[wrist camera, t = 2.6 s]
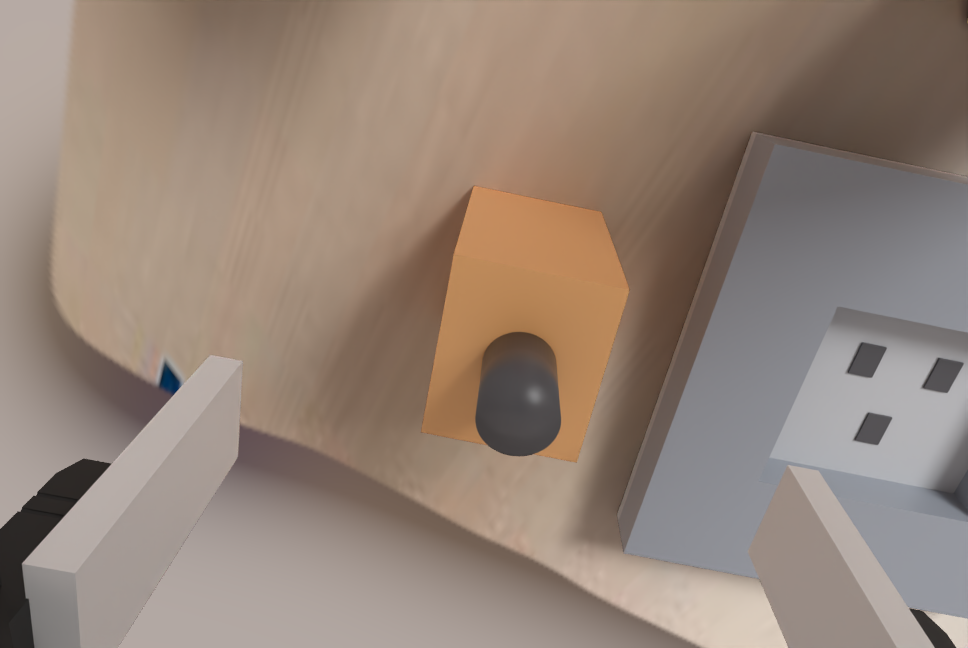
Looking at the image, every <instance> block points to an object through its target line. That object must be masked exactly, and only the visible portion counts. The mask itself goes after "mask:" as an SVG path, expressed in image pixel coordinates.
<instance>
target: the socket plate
mask: <svg viewBox="0 0 968 648" xmlns="http://www.w3.org/2000/svg"><path fill="white" fill-rule="evenodd" d="M787 465H791V466H797V467H802V468H807V469H812V470H818V471H819V472H820V474H821V475H822V477H823V478H824V480H825V481H826V483H827V484H828V486H829V487H830V489H831V491H832V492H833V494H834V495H835V497H836V498H837V500H838V501H839V503H840V504H841V506H842V507H843V509H844V510H845V512H846V513H847V515H848V516H849V518H850V519H851V521H852V523H853V524H854V526H855V527H856V529H857V530H858V532H859V533H860V535H861V536H862V538H863V539H864V541H865V542H866V544H867V545H868V547H869V548H870V550H871V551H872V553H873V555H874V556H875V558H876V559H877V561H878V562H879V564H880V565H881V567H882V568H883V570H884V571H885V573H886V574H887V576H888V577H889V579H890V580H891V582H892V583H893V585H894V587H895V588H896V590H897V591H898V593H899V594H900V596H901V597H902V599H903V600H904V602H905V603H906V605H907V606H908V607H910V608H915V609H920V610H925V611H931V612H936V613H941V614H946V615H952V616H957V617H962V618H968V177H967V176H962V175H957V174H952V173H948V172H943V171H938V170H933V169H929V168H924V167H919V166H914V165H910V164H905V163H900V162H895V161H891V160H886V159H881V158H876V157H872V156H867V155H862V154H857V153H853V152H848V151H843V150H838V149H834V148H829V147H824V146H819V145H815V144H810V143H805V142H800V141H796V140H791V139H786V138H781V137H777V136H772V135H767V134H762V133H757V132H753V131H752V134H751V136H750V139H749V142H748V145H747V148H746V151H745V153H744V156H743V159H742V162H741V165H740V168H739V170H738V173H737V176H736V179H735V182H734V185H733V187H732V190H731V193H730V196H729V199H728V202H727V204H726V207H725V210H724V213H723V216H722V219H721V221H720V224H719V227H718V230H717V233H716V236H715V238H714V241H713V244H712V247H711V250H710V253H709V255H708V258H707V261H706V264H705V267H704V269H703V272H702V275H701V278H700V281H699V284H698V286H697V289H696V292H695V295H694V298H693V301H692V303H691V306H690V309H689V312H688V315H687V318H686V320H685V323H684V326H683V329H682V332H681V335H680V337H679V340H678V343H677V346H676V349H675V352H674V354H673V357H672V360H671V363H670V366H669V369H668V371H667V374H666V377H665V380H664V383H663V386H662V388H661V391H660V394H659V397H658V400H657V403H656V405H655V408H654V411H653V414H652V417H651V420H650V422H649V425H648V428H647V431H646V434H645V437H644V439H643V442H642V445H641V448H640V451H639V454H638V456H637V459H636V462H635V465H634V468H633V471H632V473H631V476H630V479H629V482H628V485H627V488H626V490H625V493H624V496H623V499H622V502H621V505H620V507H619V510H618V513H617V519H618V524H619V530H620V536H621V541H622V547H623V552H624V553H625V554H630V555H636V556H641V557H646V558H652V559H657V560H662V561H667V562H673V563H678V564H683V565H688V566H694V567H699V568H704V569H709V570H715V571H720V572H725V573H731V574H736V575H741V576H746V577H752V578H757V579H759V577H758V575H757V573H756V570H755V568H754V565H753V563H752V561H751V558H750V556H749V554H748V550H749V547H750V545H751V543H752V541H753V539H754V537H755V534H756V532H757V530H758V528H759V526H760V524H761V521H762V519H763V517H764V515H765V513H766V511H767V509H768V506H769V504H770V502H771V500H772V498H773V496H774V493H775V491H776V489H777V487H778V485H779V483H780V480H781V478H782V476H783V474H784V472H785V470H786V467H787Z"/></svg>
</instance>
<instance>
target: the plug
mask: <svg viewBox="0 0 968 648" xmlns="http://www.w3.org/2000/svg"><path fill="white" fill-rule="evenodd" d="M629 291H630V289H629V286H628V284H627V281H626V278H625V275H624V273H623V270H622V267H621V264H620V262H619V259H618V256H617V253H616V251H615V248H614V245H613V242H612V240H611V237H610V234H609V231H608V229H607V226H606V223H605V220H604V218H603V215H602V212H599V211H594V210H589V209H584V208H580V207H575V206H570V205H565V204H560V203H555V202H550V201H546V200H541V199H536V198H531V197H526V196H521V195H516V194H512V193H507V192H502V191H497V190H492V189H487V188H482V187H477V186H474V187H473V190H472V193H471V197H470V200H469V204H468V207H467V211H466V214H465V217H464V221H463V224H462V228H461V231H460V234H459V238H458V241H457V245H456V248H455V252H454V255H453V261H452V266H451V272H450V277H449V282H448V288H447V293H446V299H445V304H444V310H443V315H442V320H441V326H440V331H439V337H438V342H437V347H436V353H435V358H434V364H433V369H432V375H431V380H430V385H429V391H428V396H427V402H426V407H425V413H424V418H423V423H422V429H421V432H422V433H427V434H433V435H438V436H443V437H448V438H453V439H458V440H463V441H469V442H474V443H479V444H484V445H488V446H489V447H491V448H492V449H494V450H496V451H498V452H500V453H503V454H506V455H510V456H527V455H532V454H535V455H541V456H546V457H551V458H556V459H561V460H566V461H571V462H577V460H578V456H579V453H580V450H581V447H582V443H583V440H584V437H585V434H586V430H587V427H588V424H589V421H590V417H591V414H592V411H593V408H594V405H595V401H596V398H597V395H598V392H599V388H600V385H601V382H602V379H603V375H604V372H605V369H606V366H607V362H608V359H609V356H610V353H611V349H612V346H613V343H614V340H615V336H616V333H617V330H618V327H619V323H620V320H621V317H622V314H623V310H624V307H625V304H626V301H627V297H628V294H629Z"/></svg>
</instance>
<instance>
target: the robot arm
mask: <svg viewBox="0 0 968 648" xmlns="http://www.w3.org/2000/svg"><path fill="white" fill-rule="evenodd" d="M242 369H243V361H240V360H235V359H230V358H225V357H219V356H214V355H209V356H208V358H207V359H206V360H205V361H204V362H203V363H202V364H201V365H200V366H199V368H198V369H197V370H196V371H195V372H194V373H193V374H192V375H191V376H190V378H189V379H188V380H187V381H186V382H185V383H184V384H183V385H182V386H181V388H180V389H179V390H178V391H177V392H176V393H175V394H174V395H173V396H172V398H171V399H170V400H169V401H168V402H167V403H166V404H165V405H164V406H163V408H162V409H161V410H160V411H159V412H158V413H157V414H156V415H155V417H154V418H153V419H152V420H151V421H150V422H149V423H148V424H147V425H146V426H145V428H144V429H143V430H142V431H141V432H140V433H139V434H138V435H137V436H136V438H135V439H134V440H133V441H132V442H131V443H130V444H129V445H128V446H127V448H126V449H125V450H124V451H123V452H122V453H121V454H120V455H119V456H118V457H117V459H116V460H115V461H114V462H113V463H112V464H110V463H104V462H99V461H94V460H88V459H82V460H80V461H78V462H76V463H75V464H73V465H71V466H69V467H67V468H65V469H64V470H61V471H59V472H58V473H56V474H55V475H54V476H53V477H52V478H51V479H50V480H49V481H48V482H47V483H46V484H45V485H44V486H43V487H42V488H41V489H40V490H39V491H38V493H37V495H36V496H33V497H32V498H31V499H30V500H29V501H28V502H27V503H26V504H25V505H24V506H23V507H22V510H21V512H17V513H16V514H15V515H14V516H13V517H12V518H11V519H10V520H9V521H8V522H7V523H6V524H5V525H4V526H3V527H2V528H1V529H0V648H118V647H119V645H120V644H121V642H122V640H123V639H124V637H125V636H126V634H127V632H128V631H129V629H130V628H131V626H132V624H133V623H134V621H135V620H136V618H137V617H138V615H139V613H140V612H141V610H142V609H143V607H144V605H145V604H146V602H147V601H148V599H149V597H150V596H151V594H152V593H153V591H154V590H155V588H156V586H157V585H158V583H159V582H160V580H161V578H162V577H163V575H164V573H165V572H166V571H167V569H168V567H169V566H170V564H171V563H172V561H173V559H174V558H175V556H176V555H177V553H178V551H179V550H180V548H181V547H182V545H183V543H184V542H185V540H186V539H187V537H188V536H189V534H190V532H191V531H192V529H193V528H194V526H195V525H196V523H197V521H198V520H199V518H200V517H201V515H202V513H203V512H204V510H205V509H206V507H207V505H208V504H209V502H210V501H211V499H212V498H213V496H214V494H215V493H216V491H217V489H218V488H219V486H220V485H221V483H222V482H223V480H224V478H225V477H226V475H227V474H228V472H229V470H230V469H231V467H232V466H233V464H234V463H235V461H236V459H237V458H238V445H239V427H240V407H241V388H242ZM748 554H749V556H750V558H751V561H752V563H753V565H754V568H755V570H756V573H757V575H758V577H759V580H760V582H761V584H762V587H763V589H764V591H765V594H766V596H767V598H768V601H769V603H770V605H771V608H772V610H773V612H774V615H775V617H776V619H777V622H778V624H779V626H780V629H781V631H782V634H783V636H784V638H785V641H786V643H787V645H788V648H956V647H955V645H954V644H953V642H952V641H951V640H950V638H949V637H948V635H947V634H946V633H945V632H944V631H943V630H942V629H941V628H940V627H939V626H938V625H937V624H936V623H935V622H933V621H932V620H931V619H930V618H929V617H928V616H927V615H926V614H925V613H924V612H923V611H920V610H915V609H909V608H908V606H907V605H906V603H905V602H904V600H903V599H902V597H901V596H900V594H899V593H898V591H897V590H896V588H895V587H894V585H893V583H892V582H891V580H890V579H889V577H888V576H887V574H886V573H885V571H884V570H883V568H882V567H881V565H880V564H879V562H878V561H877V559H876V558H875V556H874V555H873V553H872V551H871V550H870V548H869V547H868V545H867V544H866V542H865V541H864V539H863V538H862V536H861V535H860V533H859V532H858V530H857V529H856V527H855V526H854V524H853V523H852V521H851V519H850V518H849V516H848V515H847V513H846V512H845V510H844V509H843V507H842V506H841V504H840V503H839V501H838V500H837V498H836V497H835V495H834V494H833V492H832V491H831V489H830V487H829V486H828V484H827V483H826V481H825V480H824V478H823V477H822V475H821V474H820V472H819V471H818V470H812V469H807V468H802V467H797V466H791V465H787V467H786V470H785V472H784V474H783V476H782V478H781V480H780V483H779V485H778V487H777V489H776V491H775V493H774V496H773V498H772V500H771V502H770V504H769V506H768V509H767V511H766V513H765V515H764V517H763V519H762V521H761V524H760V526H759V528H758V530H757V532H756V534H755V537H754V539H753V541H752V543H751V545H750V547H749V550H748Z"/></svg>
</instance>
